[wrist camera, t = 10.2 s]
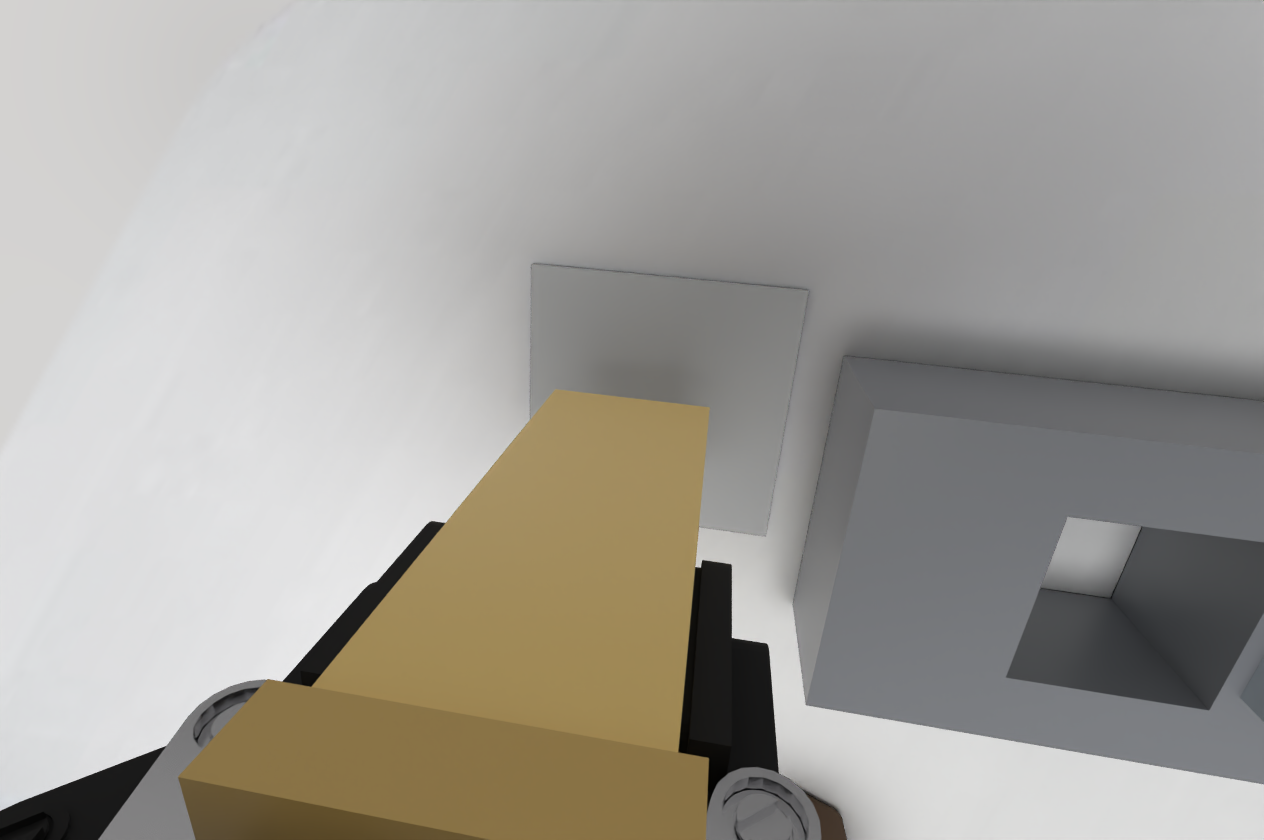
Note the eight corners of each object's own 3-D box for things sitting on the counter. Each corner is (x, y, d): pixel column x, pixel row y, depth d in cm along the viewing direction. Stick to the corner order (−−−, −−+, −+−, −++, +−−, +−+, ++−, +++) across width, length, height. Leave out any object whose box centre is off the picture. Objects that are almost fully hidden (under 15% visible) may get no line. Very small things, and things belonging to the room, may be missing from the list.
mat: (807, 290, 20) (809, 291, 20) (765, 532, 23) (765, 536, 23) (533, 263, 21) (531, 264, 21) (531, 498, 24) (528, 503, 24)
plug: (722, 397, 16) (704, 882, 5) (702, 552, 18) (655, 1162, 7) (544, 377, 17) (178, 776, 6) (541, 529, 19) (257, 1063, 7)
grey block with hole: (1395, 415, 19) (1674, 517, 13) (1247, 674, 22) (1414, 838, 17) (843, 355, 20) (883, 423, 15) (792, 604, 24) (809, 731, 19)
